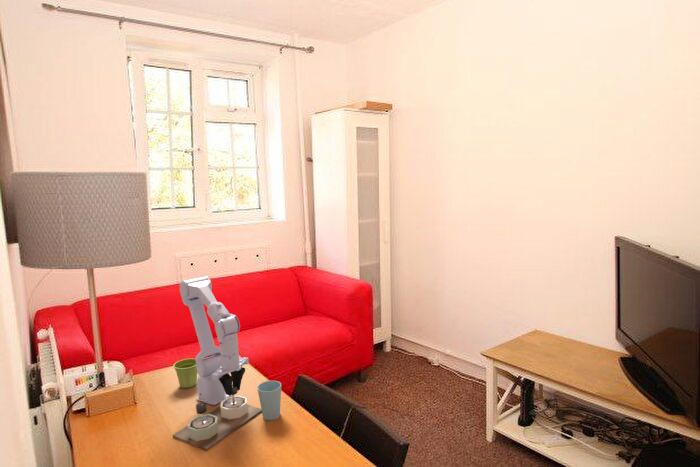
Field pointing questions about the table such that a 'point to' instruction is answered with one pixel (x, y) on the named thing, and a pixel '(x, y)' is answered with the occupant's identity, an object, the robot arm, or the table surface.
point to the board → (219, 428)
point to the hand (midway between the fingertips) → (232, 392)
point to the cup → (270, 399)
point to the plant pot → (186, 372)
